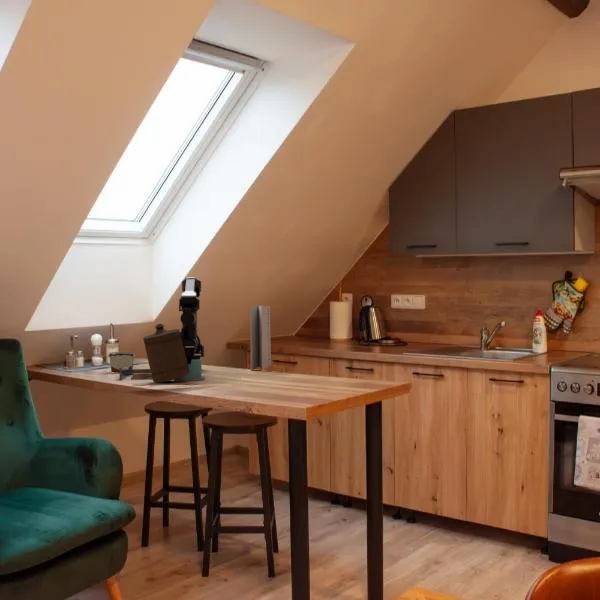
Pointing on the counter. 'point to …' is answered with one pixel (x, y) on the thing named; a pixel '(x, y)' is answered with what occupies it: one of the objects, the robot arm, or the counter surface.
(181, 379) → the mat
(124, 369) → the rack
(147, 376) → the offcut top
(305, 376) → the counter surface
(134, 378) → the board
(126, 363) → the food container
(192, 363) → the block
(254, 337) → the grey tall angular piece
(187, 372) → the wooden container
